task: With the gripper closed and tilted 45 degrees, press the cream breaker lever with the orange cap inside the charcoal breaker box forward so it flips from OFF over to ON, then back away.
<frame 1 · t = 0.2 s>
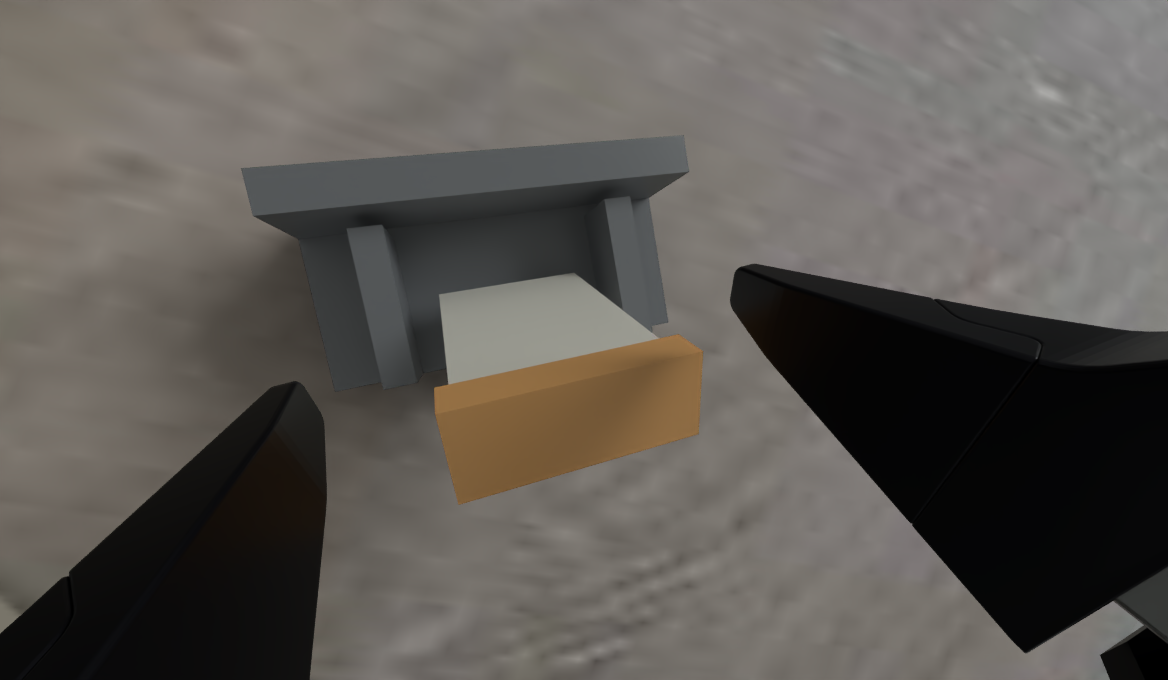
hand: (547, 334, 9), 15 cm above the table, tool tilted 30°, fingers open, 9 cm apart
breaker lever: (538, 347, 15), point 9 cm above the table, hinge at -20.0°
breaker box: (503, 304, 23), on the table
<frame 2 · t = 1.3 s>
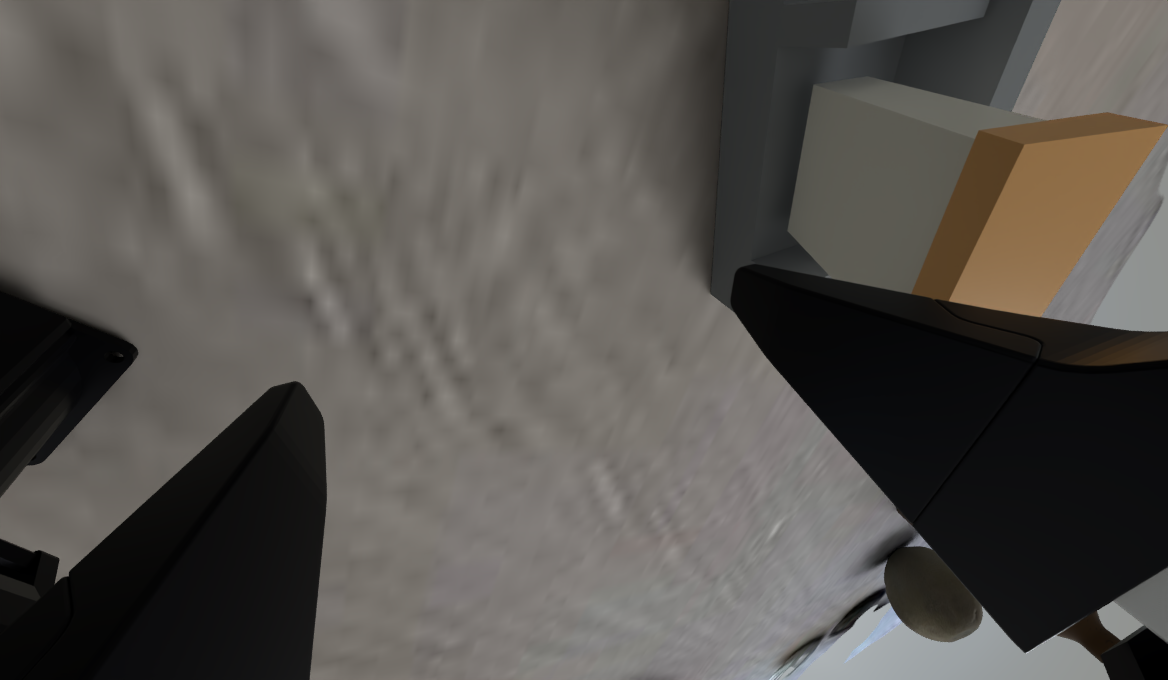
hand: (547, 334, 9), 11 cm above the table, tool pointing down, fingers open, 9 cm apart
cantaloupe: (890, 554, 86), on the table
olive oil: (919, 490, 68), on the table
breaker lever: (891, 205, 14), point 9 cm above the table, hinge at -21.0°
breaker box: (762, 143, 21), on the table
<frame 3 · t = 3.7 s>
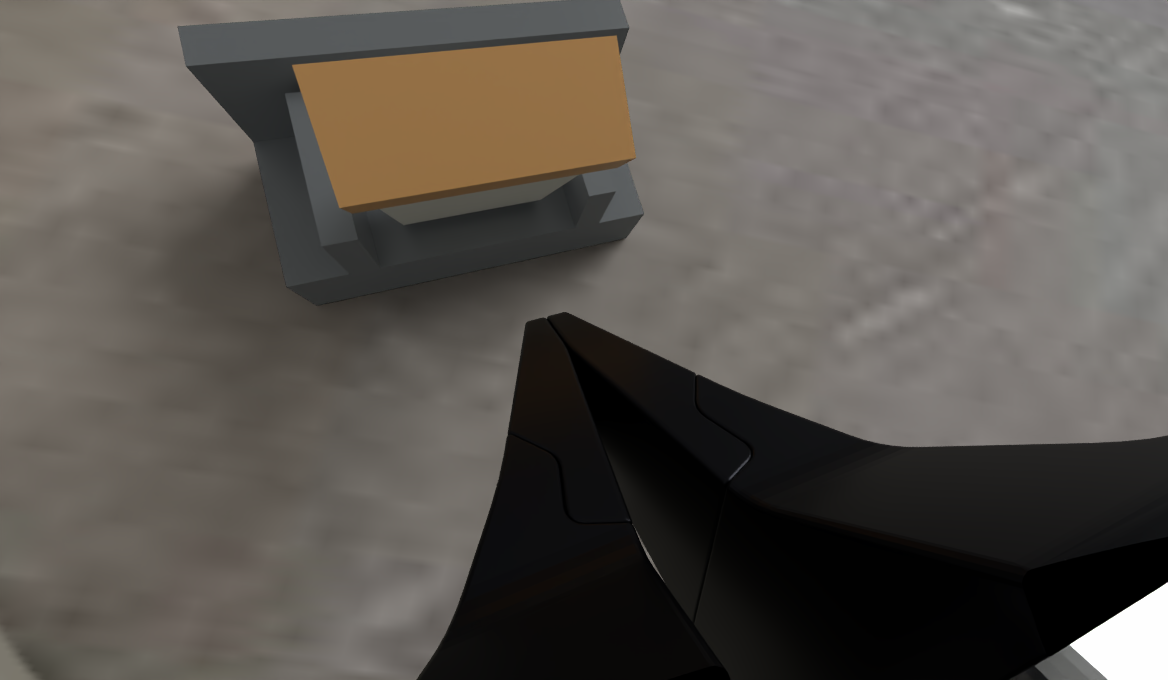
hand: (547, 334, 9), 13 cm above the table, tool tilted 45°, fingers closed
breaker lever: (474, 164, 14), point 9 cm above the table, hinge at -21.1°
breaker box: (472, 224, 22), on the table
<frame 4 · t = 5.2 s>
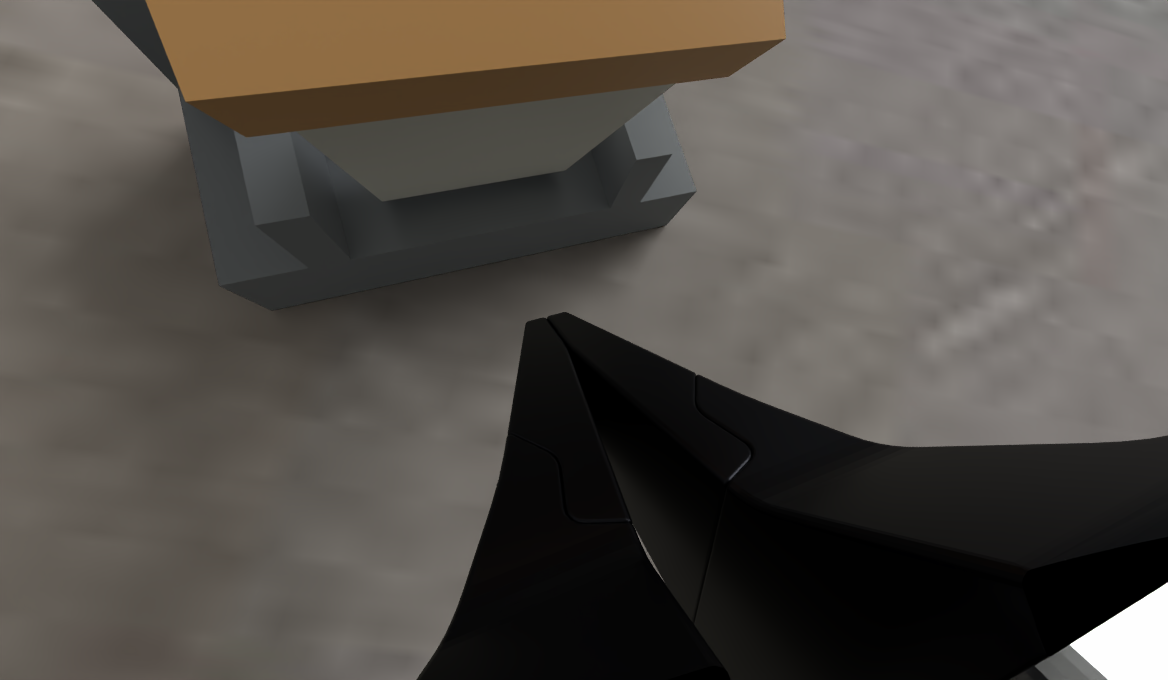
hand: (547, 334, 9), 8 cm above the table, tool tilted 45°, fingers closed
breaker lever: (479, 97, 9), point 9 cm above the table, hinge at -21.1°
breaker box: (474, 206, 17), on the table
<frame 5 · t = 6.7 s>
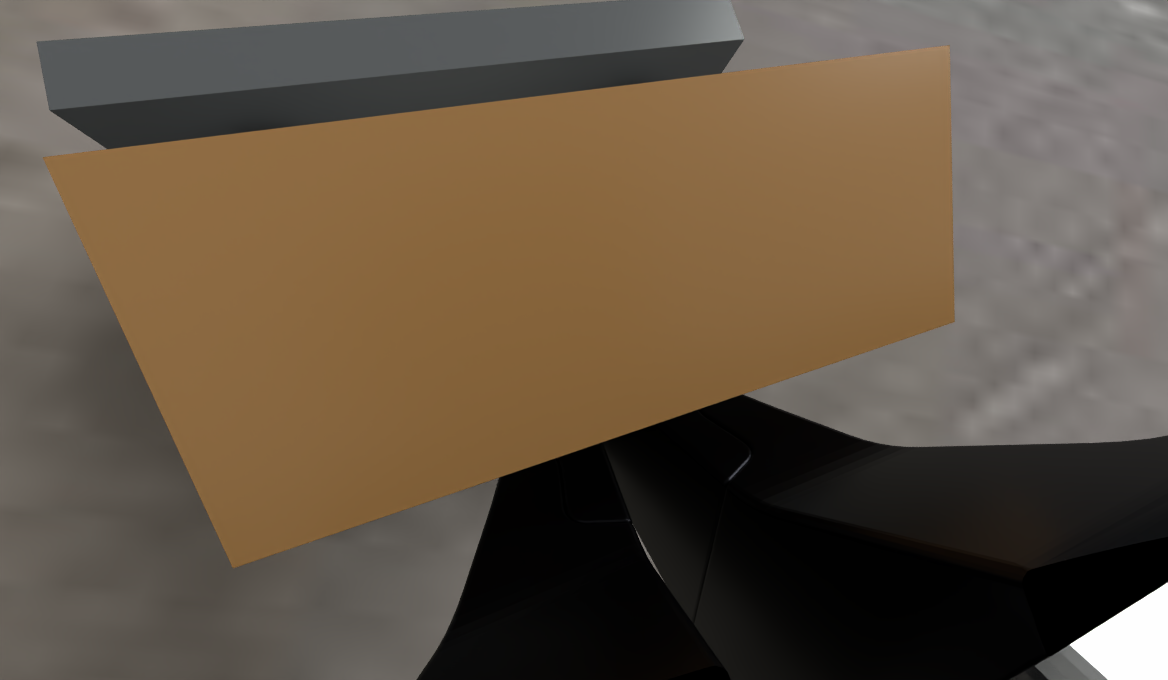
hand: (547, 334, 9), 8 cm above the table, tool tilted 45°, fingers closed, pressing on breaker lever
breaker lever: (535, 269, 8), point 9 cm above the table, hinge at -18.4°, touching gripper
breaker box: (502, 298, 17), on the table
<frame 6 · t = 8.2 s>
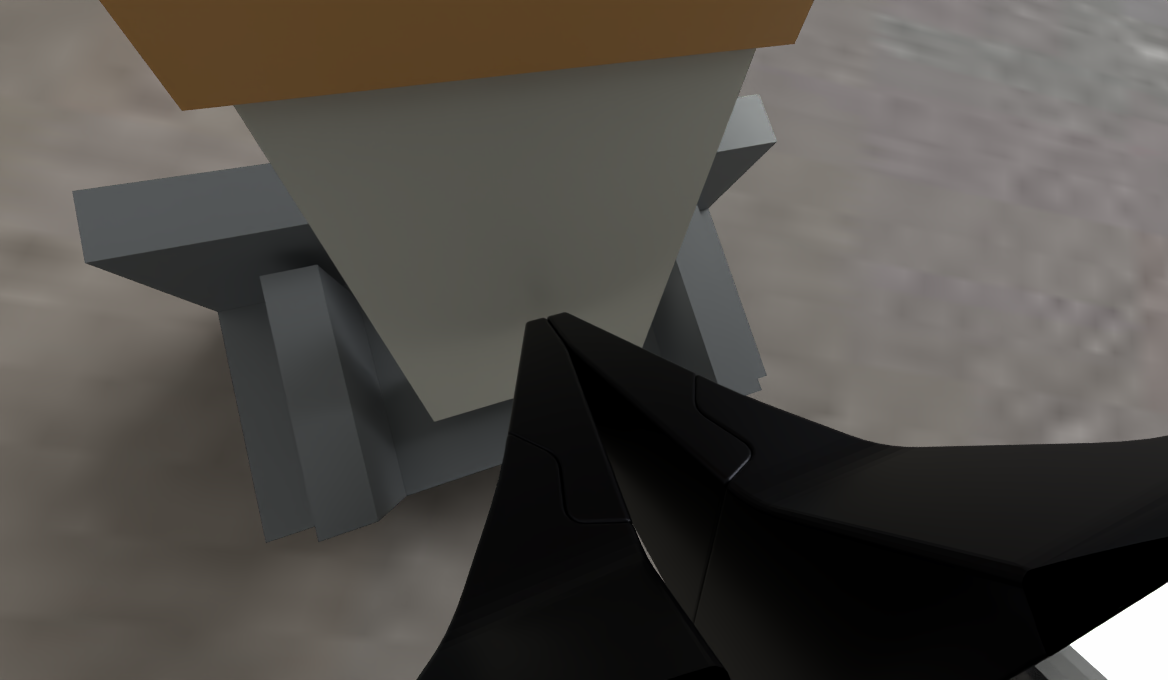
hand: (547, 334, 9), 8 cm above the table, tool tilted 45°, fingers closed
breaker lever: (524, 239, 8), point 9 cm above the table, hinge at 22.5°
breaker box: (524, 377, 16), on the table
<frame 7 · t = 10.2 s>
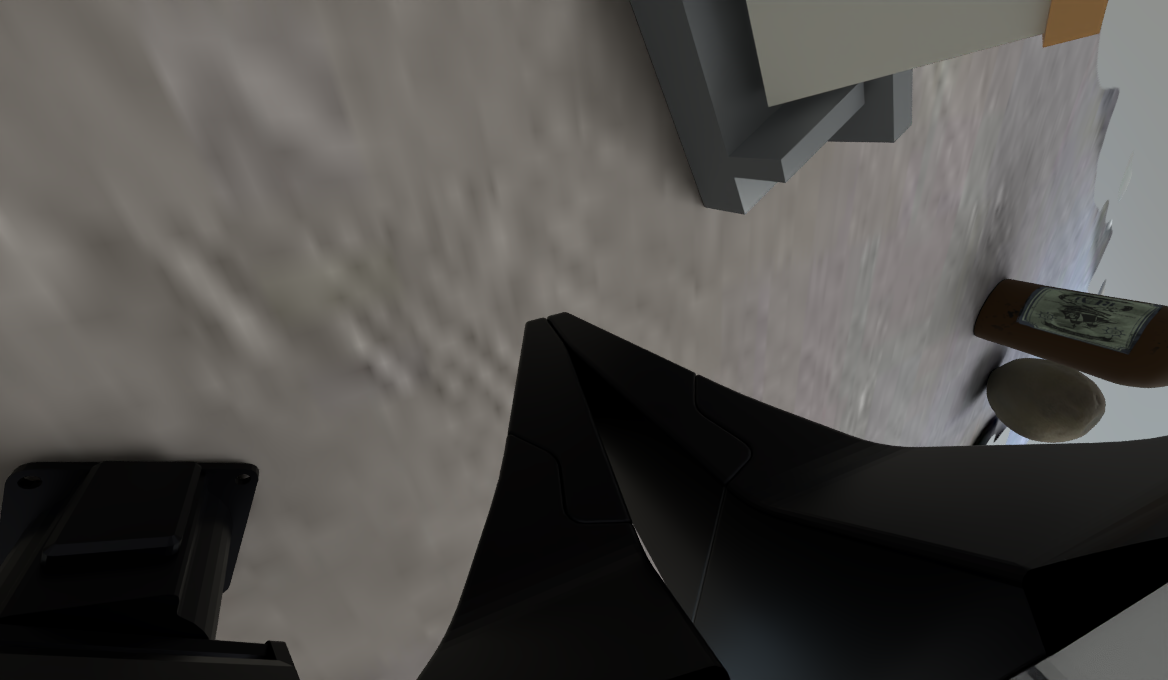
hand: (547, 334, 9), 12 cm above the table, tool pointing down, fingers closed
cantaloupe: (986, 380, 83), on the table
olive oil: (989, 306, 65), on the table
breaker box: (690, 44, 21), on the table
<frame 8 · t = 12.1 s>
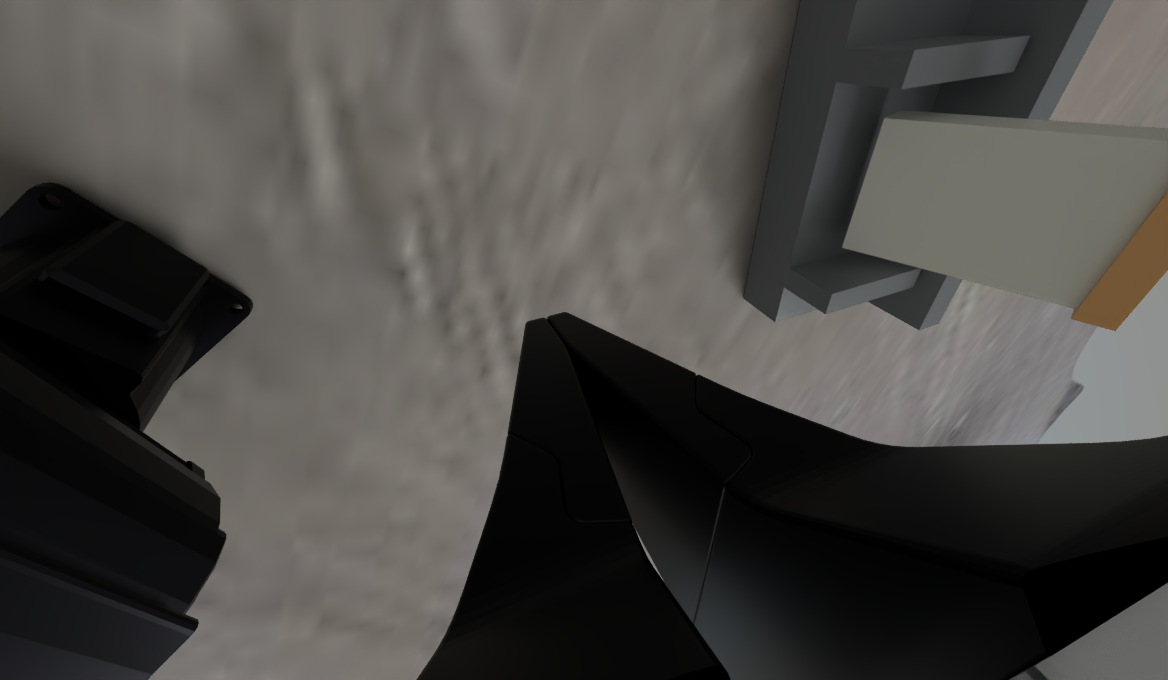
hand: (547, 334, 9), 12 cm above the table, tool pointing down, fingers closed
breaker lever: (1000, 205, 17), point 9 cm above the table, hinge at 22.5°
breaker box: (805, 164, 23), on the table
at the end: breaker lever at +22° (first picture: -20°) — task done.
